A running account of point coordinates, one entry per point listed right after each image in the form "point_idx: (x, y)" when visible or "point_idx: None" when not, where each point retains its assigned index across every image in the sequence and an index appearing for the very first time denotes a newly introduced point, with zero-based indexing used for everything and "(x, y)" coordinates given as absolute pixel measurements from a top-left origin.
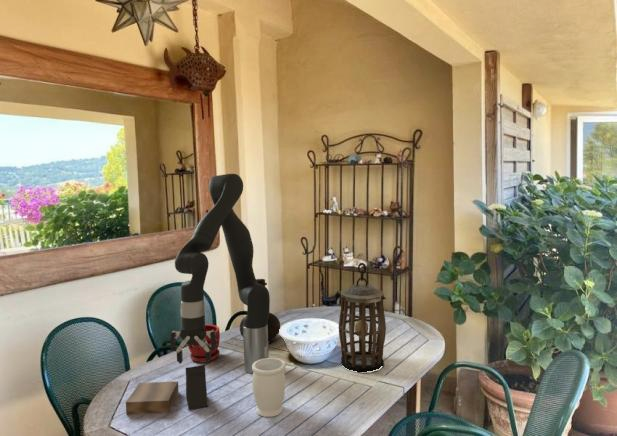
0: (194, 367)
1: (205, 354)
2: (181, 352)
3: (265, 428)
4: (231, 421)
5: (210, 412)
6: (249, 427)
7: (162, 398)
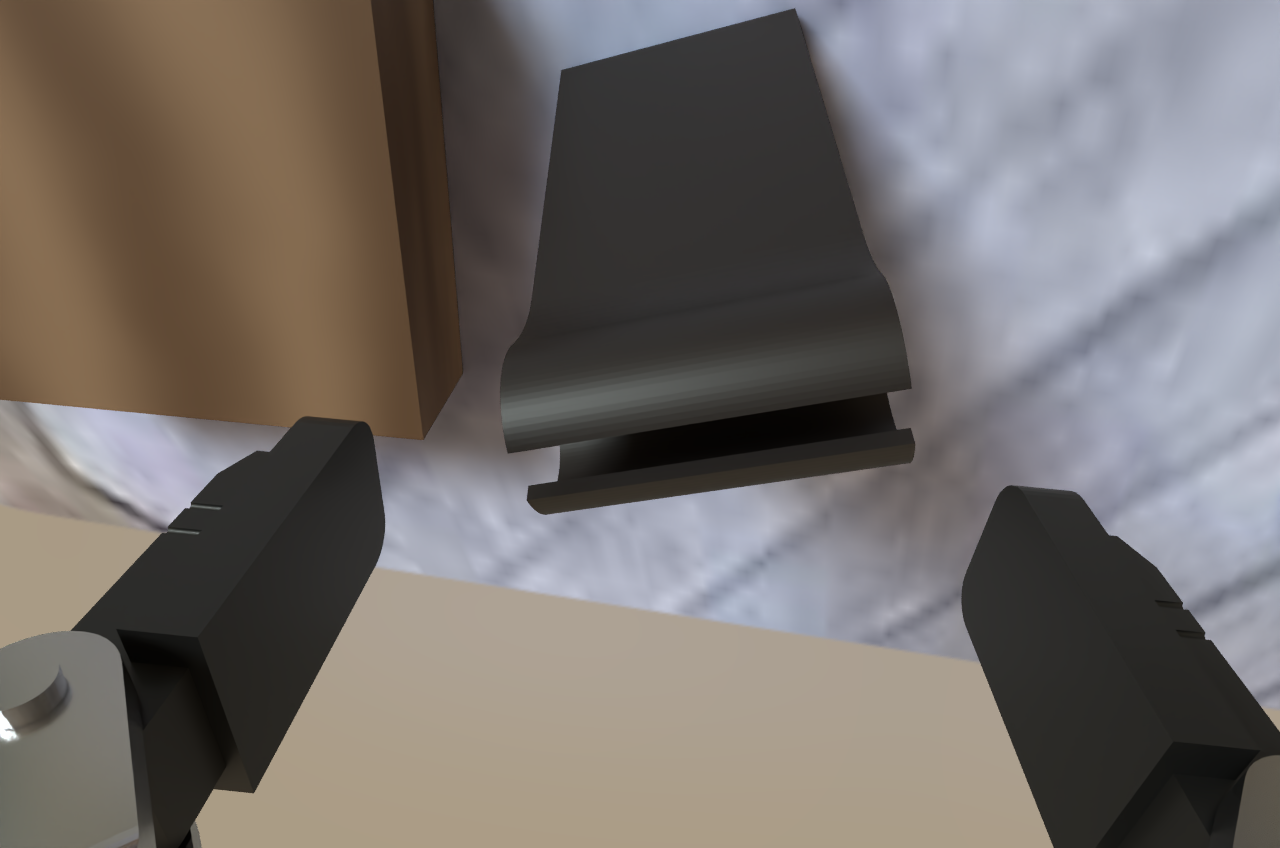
0: (683, 405)
1: (1040, 813)
2: (247, 707)
3: (1248, 686)
4: None
5: None
6: None
7: (340, 386)
